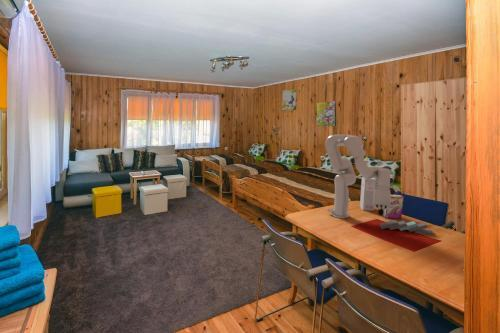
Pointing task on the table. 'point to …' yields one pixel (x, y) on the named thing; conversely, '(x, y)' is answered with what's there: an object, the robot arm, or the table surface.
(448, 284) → the table surface
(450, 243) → the table surface
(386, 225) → the domino
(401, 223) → the domino
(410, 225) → the domino
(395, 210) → the candy bar box
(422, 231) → the domino
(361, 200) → the box
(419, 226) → the domino
